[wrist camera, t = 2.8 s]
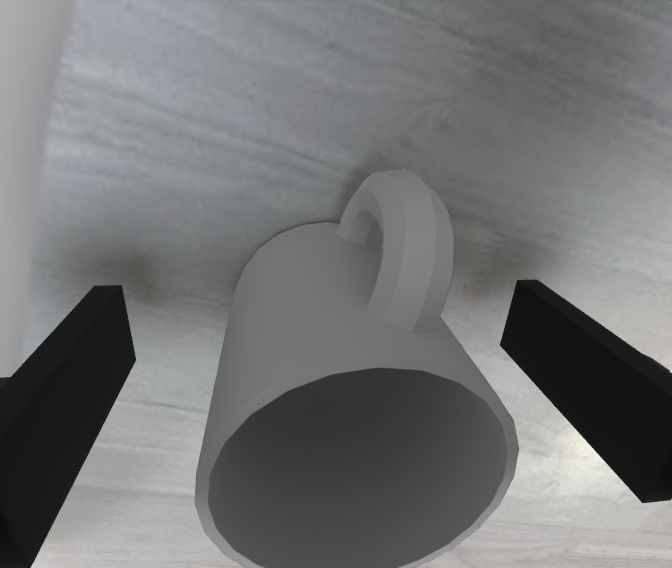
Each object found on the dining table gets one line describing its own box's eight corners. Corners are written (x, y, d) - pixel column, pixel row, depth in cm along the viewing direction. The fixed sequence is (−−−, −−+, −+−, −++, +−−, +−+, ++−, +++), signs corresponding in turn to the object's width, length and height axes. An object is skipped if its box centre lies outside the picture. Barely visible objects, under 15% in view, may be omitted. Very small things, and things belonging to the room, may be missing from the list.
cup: (218, 355, 17) (169, 580, 9) (276, 116, 14) (276, 153, 6) (371, 382, 19) (440, 590, 11) (460, 178, 15) (659, 273, 7)
